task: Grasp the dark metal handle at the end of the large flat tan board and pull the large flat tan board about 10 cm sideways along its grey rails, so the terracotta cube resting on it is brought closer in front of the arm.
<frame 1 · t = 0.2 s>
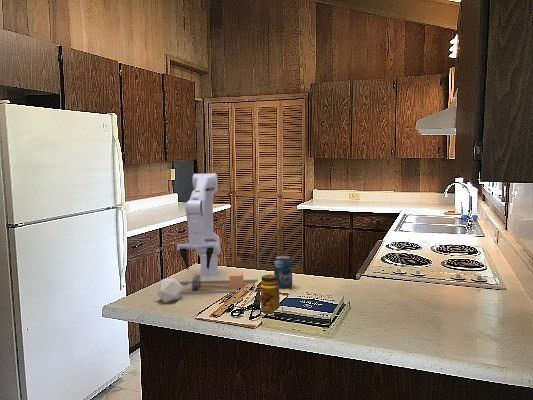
hand: (197, 268, 166), 10 cm above the counter, tool pointing down, fingers open, 7 cm apart
cube: (236, 286, 172), point 1 cm above the counter, touching large flat tan board
large flat tan board: (223, 282, 172), point 2 cm above the counter, slide at 0.0 cm, touching cube
soda can: (283, 288, 171), on the counter
lane rails: (211, 288, 172), on the counter
die: (170, 301, 159), on the counter
condiment: (271, 312, 145), on the counter
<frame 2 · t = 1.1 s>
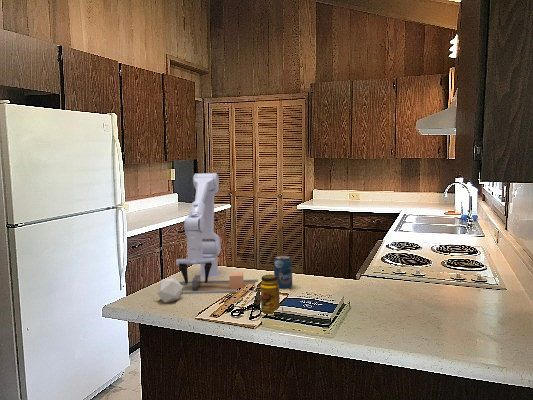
hand: (196, 282, 172), 3 cm above the counter, tool pointing down, fingers open, 7 cm apart
nothing on the counter moved.
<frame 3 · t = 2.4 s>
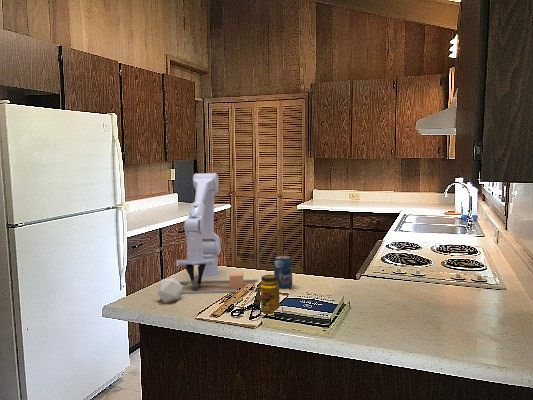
hand: (196, 283, 172), 2 cm above the counter, tool pointing down, fingers closed on large flat tan board, 2 cm apart
large flat tan board: (223, 282, 172), point 2 cm above the counter, slide at 0.0 cm, touching cube, gripper
everything else where it was.
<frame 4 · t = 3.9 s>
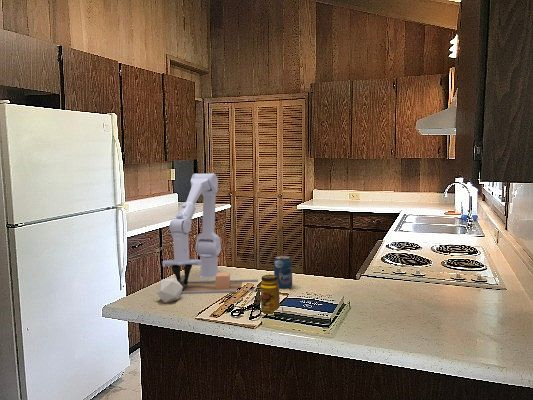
hand: (182, 283, 172), 2 cm above the counter, tool pointing down, fingers closed on large flat tan board, 2 cm apart
cube: (223, 287, 172), point 1 cm above the counter, touching large flat tan board
large flat tan board: (210, 283, 172), point 2 cm above the counter, slide at 5.3 cm, touching cube, gripper
everything else where it was.
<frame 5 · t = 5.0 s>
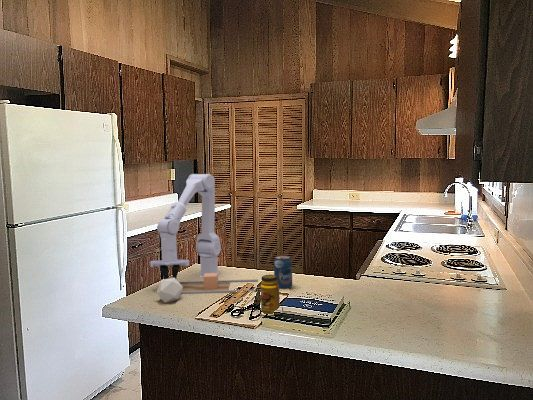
hand: (170, 284, 172), 2 cm above the counter, tool pointing down, fingers closed on large flat tan board, 2 cm apart
cube: (211, 287, 172), point 1 cm above the counter, touching large flat tan board
large flat tan board: (198, 283, 172), point 2 cm above the counter, slide at 9.9 cm, touching cube, gripper
everything else where it was.
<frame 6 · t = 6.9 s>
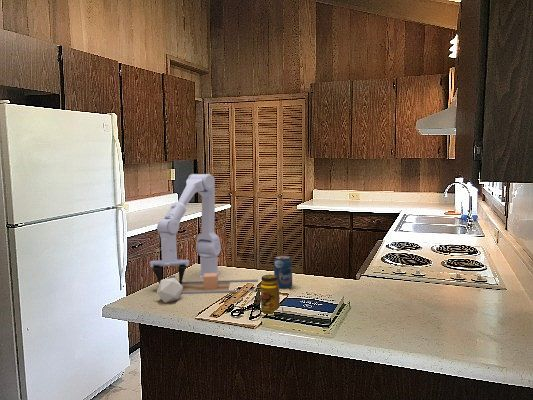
hand: (170, 284, 172), 2 cm above the counter, tool pointing down, fingers open, 7 cm apart
large flat tan board: (197, 283, 172), point 2 cm above the counter, slide at 10.0 cm, touching cube
everything else where it was.
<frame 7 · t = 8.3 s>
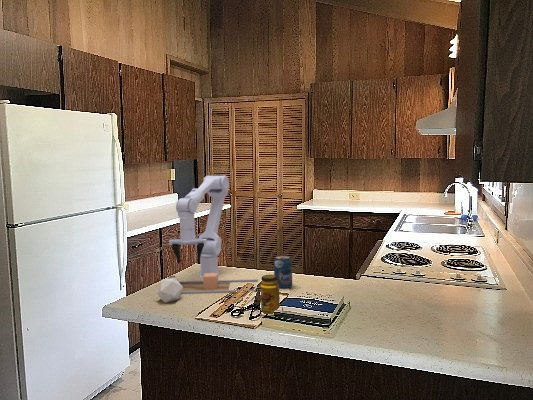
hand: (188, 262, 176), 9 cm above the counter, tool pointing down, fingers open, 7 cm apart
nothing on the counter moved.
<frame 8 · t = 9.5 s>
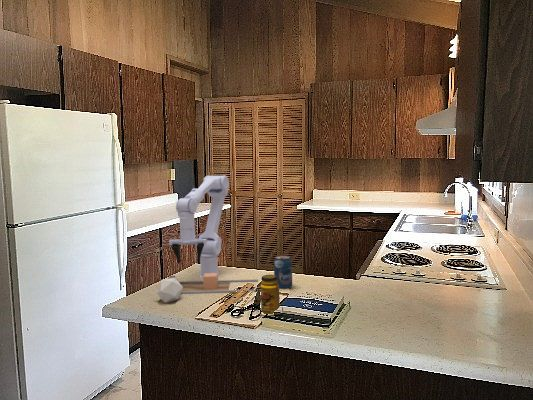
hand: (188, 262, 176), 9 cm above the counter, tool pointing down, fingers open, 7 cm apart
nothing on the counter moved.
at the end: large flat tan board slide at 10.0 cm; cube inside the target area (0.0 cm from its centre), point 0.5 cm above the counter; cube tilted 0° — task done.
